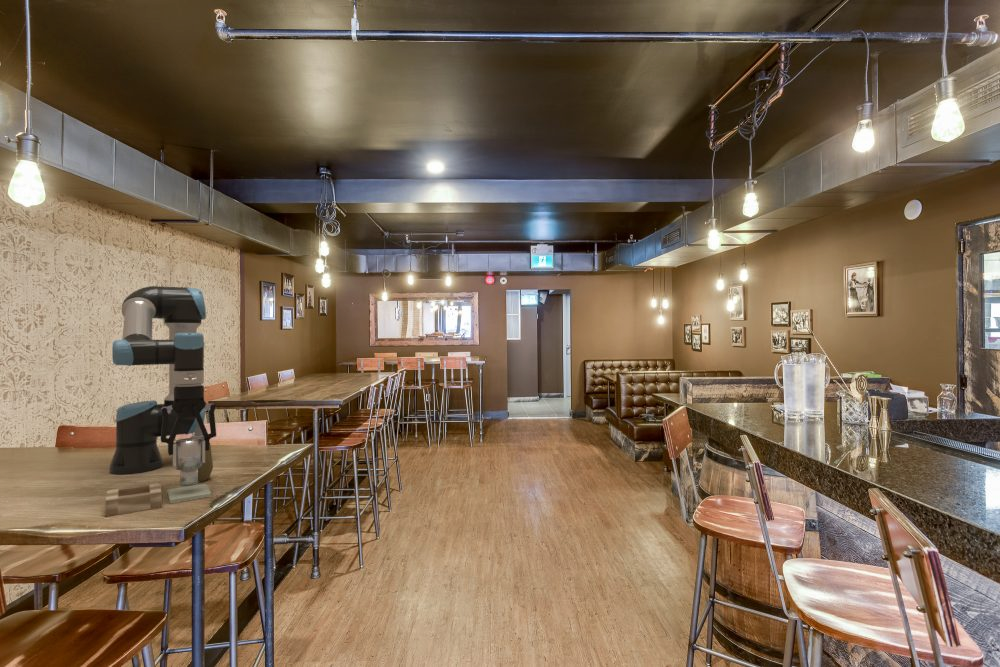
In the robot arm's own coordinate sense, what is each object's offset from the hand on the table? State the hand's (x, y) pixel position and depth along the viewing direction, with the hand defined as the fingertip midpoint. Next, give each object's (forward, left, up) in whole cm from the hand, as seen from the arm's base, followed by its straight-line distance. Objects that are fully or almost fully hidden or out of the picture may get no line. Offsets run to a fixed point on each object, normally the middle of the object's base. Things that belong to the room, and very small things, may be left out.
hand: (189, 463), depth 147 cm
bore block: (+2, -13, -9) cm, 16 cm away
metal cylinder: (0, 0, -6) cm, 6 cm away
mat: (0, 0, -9) cm, 9 cm away
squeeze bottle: (-16, +4, -9) cm, 19 cm away
